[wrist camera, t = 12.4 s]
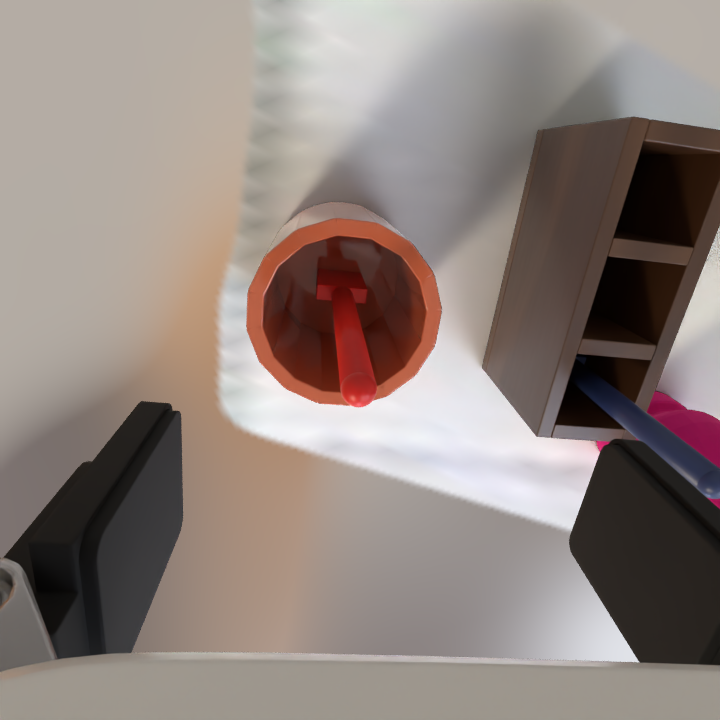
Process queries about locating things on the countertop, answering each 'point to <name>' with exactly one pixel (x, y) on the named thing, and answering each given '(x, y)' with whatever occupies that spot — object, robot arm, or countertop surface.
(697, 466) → the blue rounded rod
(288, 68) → the countertop surface
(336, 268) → the crock
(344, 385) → the red toy mallet
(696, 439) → the pepper mill
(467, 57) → the countertop surface
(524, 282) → the caddy
